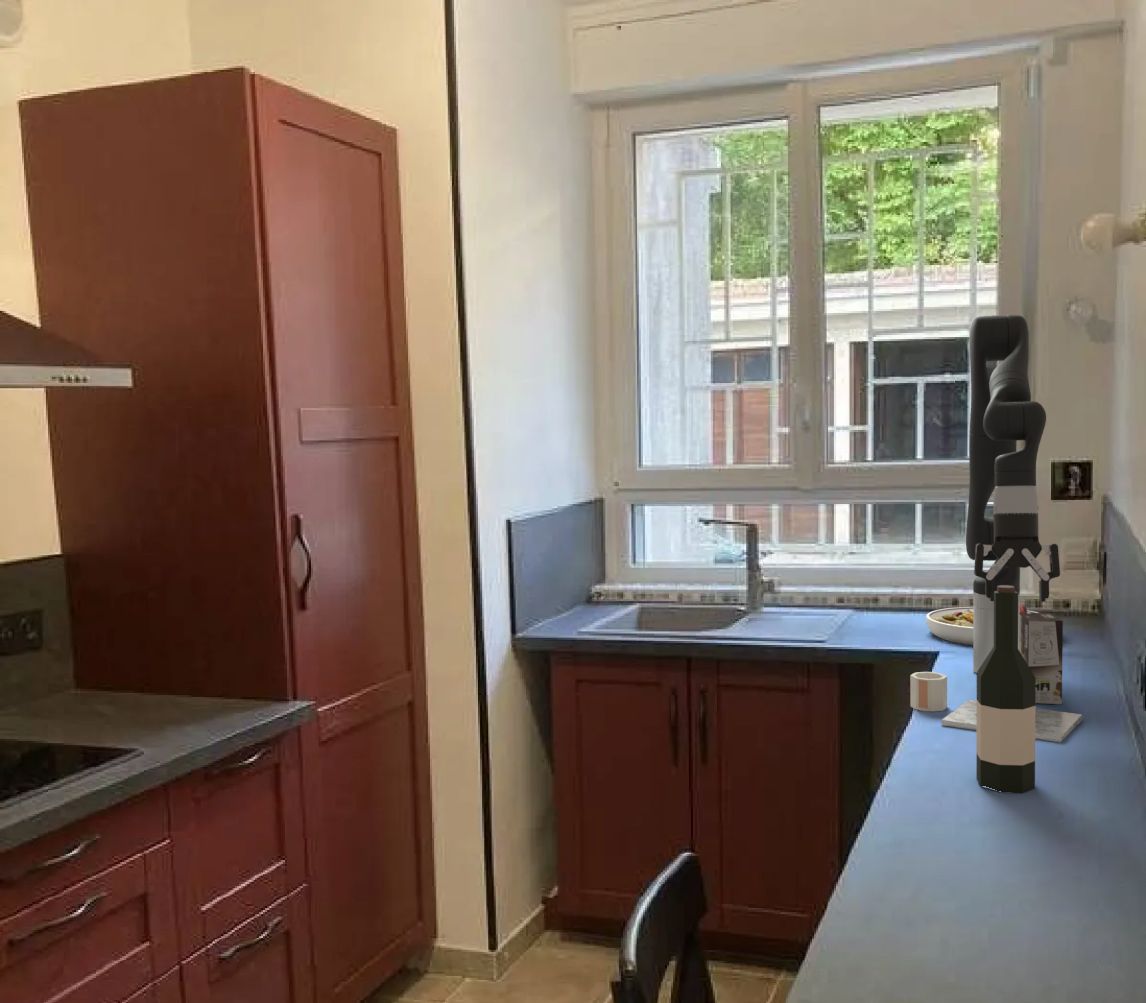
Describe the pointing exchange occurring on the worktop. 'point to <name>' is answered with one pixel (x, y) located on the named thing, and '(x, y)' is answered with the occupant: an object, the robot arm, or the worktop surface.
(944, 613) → the bowl
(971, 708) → the duct plate
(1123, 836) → the worktop surface
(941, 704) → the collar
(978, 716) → the wine bottle
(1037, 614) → the coffee box
